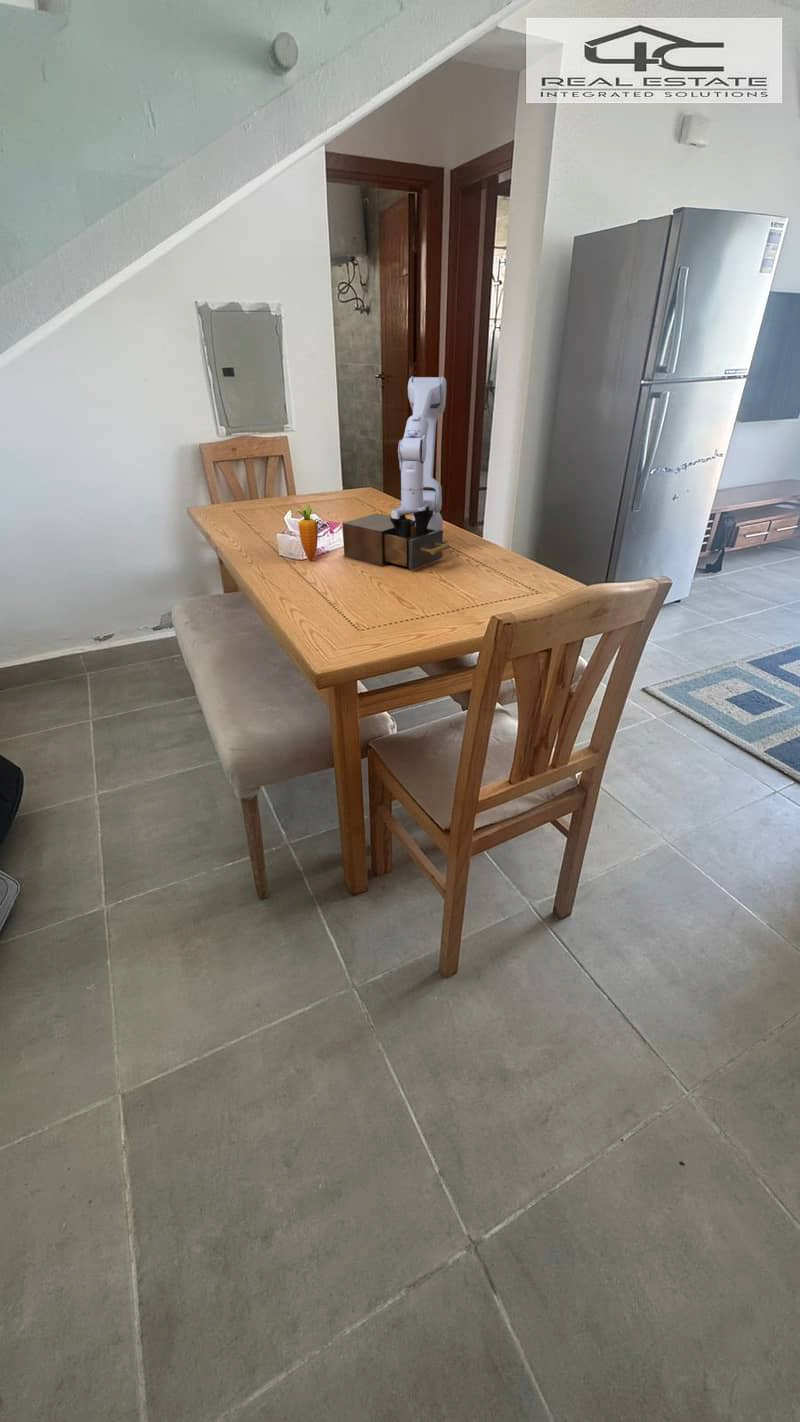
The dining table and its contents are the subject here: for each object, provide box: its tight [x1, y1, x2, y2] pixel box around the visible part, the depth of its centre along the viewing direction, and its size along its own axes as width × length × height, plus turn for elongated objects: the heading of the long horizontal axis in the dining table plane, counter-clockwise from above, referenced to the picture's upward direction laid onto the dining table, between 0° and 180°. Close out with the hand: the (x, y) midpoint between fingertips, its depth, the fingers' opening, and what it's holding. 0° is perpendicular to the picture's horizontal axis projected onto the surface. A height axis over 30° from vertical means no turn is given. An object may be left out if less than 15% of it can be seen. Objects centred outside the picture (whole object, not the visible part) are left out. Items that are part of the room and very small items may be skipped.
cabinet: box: [342, 512, 416, 567], centre depth 170 cm, size 14×14×9 cm
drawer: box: [383, 525, 451, 571], centre depth 163 cm, size 18×13×8 cm
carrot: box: [297, 503, 319, 562], centre depth 164 cm, size 5×5×15 cm
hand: (412, 541), depth 163 cm, fingers open, 7 cm apart
